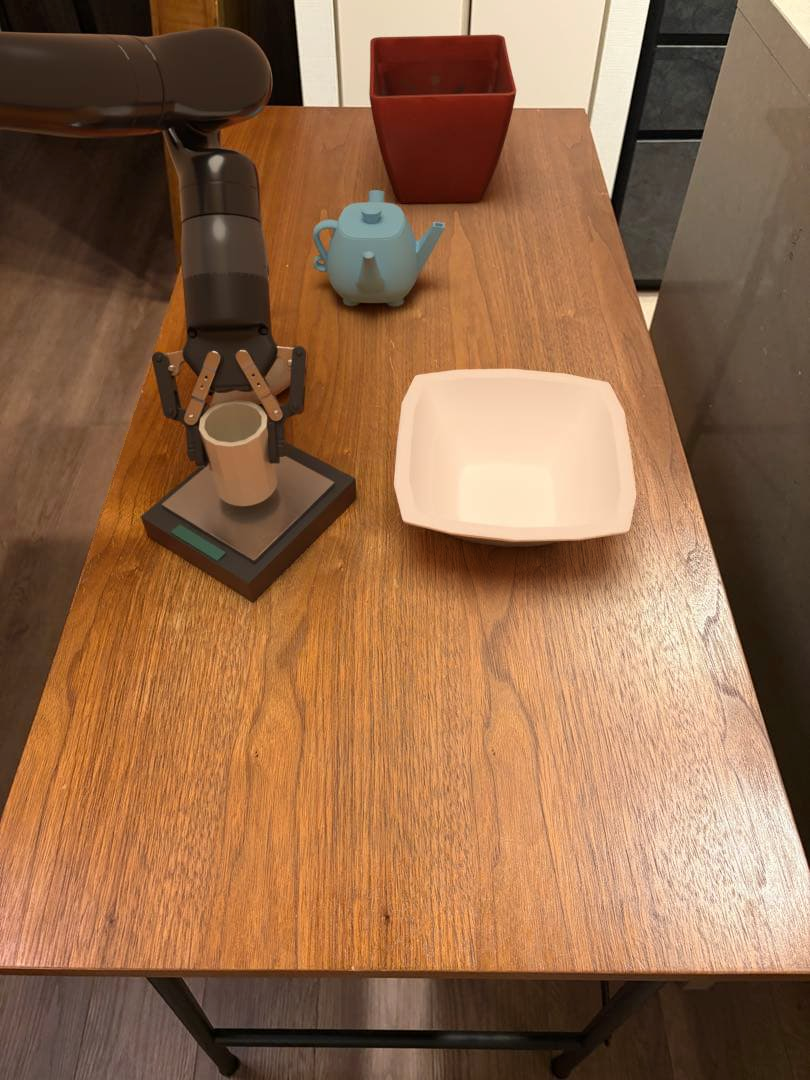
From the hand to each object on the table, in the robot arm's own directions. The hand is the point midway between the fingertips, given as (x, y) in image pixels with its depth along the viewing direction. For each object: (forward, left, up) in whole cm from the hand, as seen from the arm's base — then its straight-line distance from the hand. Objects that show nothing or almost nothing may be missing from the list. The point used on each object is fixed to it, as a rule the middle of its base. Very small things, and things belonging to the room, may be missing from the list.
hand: (238, 464), depth 77 cm
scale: (+1, +1, -9) cm, 9 cm away
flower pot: (+67, +23, -9) cm, 72 cm away
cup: (+1, +1, -4) cm, 5 cm away
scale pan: (+1, +1, -6) cm, 6 cm away
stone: (+15, +13, -9) cm, 22 cm away
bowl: (+17, -19, -9) cm, 27 cm away
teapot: (+40, +14, -9) cm, 44 cm away
